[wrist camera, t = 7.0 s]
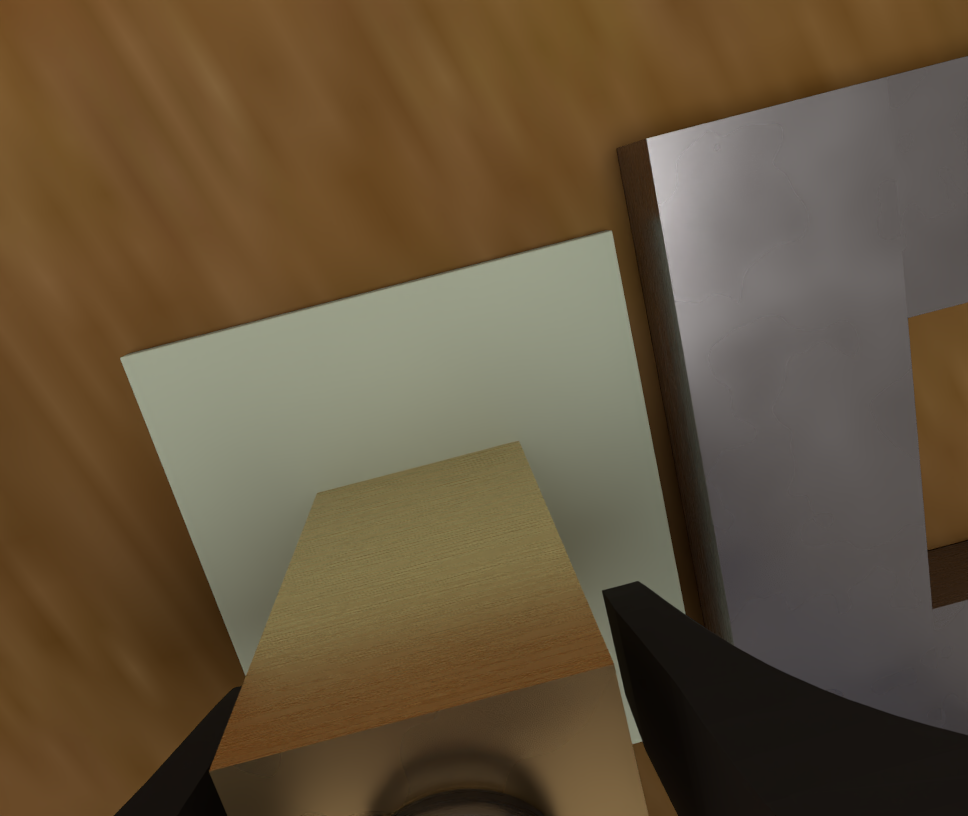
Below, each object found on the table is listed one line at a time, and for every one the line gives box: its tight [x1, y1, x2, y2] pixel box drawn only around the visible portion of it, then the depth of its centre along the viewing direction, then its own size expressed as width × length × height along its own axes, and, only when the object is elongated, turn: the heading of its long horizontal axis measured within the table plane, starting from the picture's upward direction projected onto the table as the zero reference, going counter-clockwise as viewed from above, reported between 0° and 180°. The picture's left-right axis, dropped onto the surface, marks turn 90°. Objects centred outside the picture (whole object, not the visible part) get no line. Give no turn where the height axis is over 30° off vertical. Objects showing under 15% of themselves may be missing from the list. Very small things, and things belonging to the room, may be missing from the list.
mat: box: [120, 230, 685, 744], centre depth 16 cm, size 12×10×1 cm
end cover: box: [209, 441, 648, 816], centre depth 12 cm, size 4×4×9 cm
